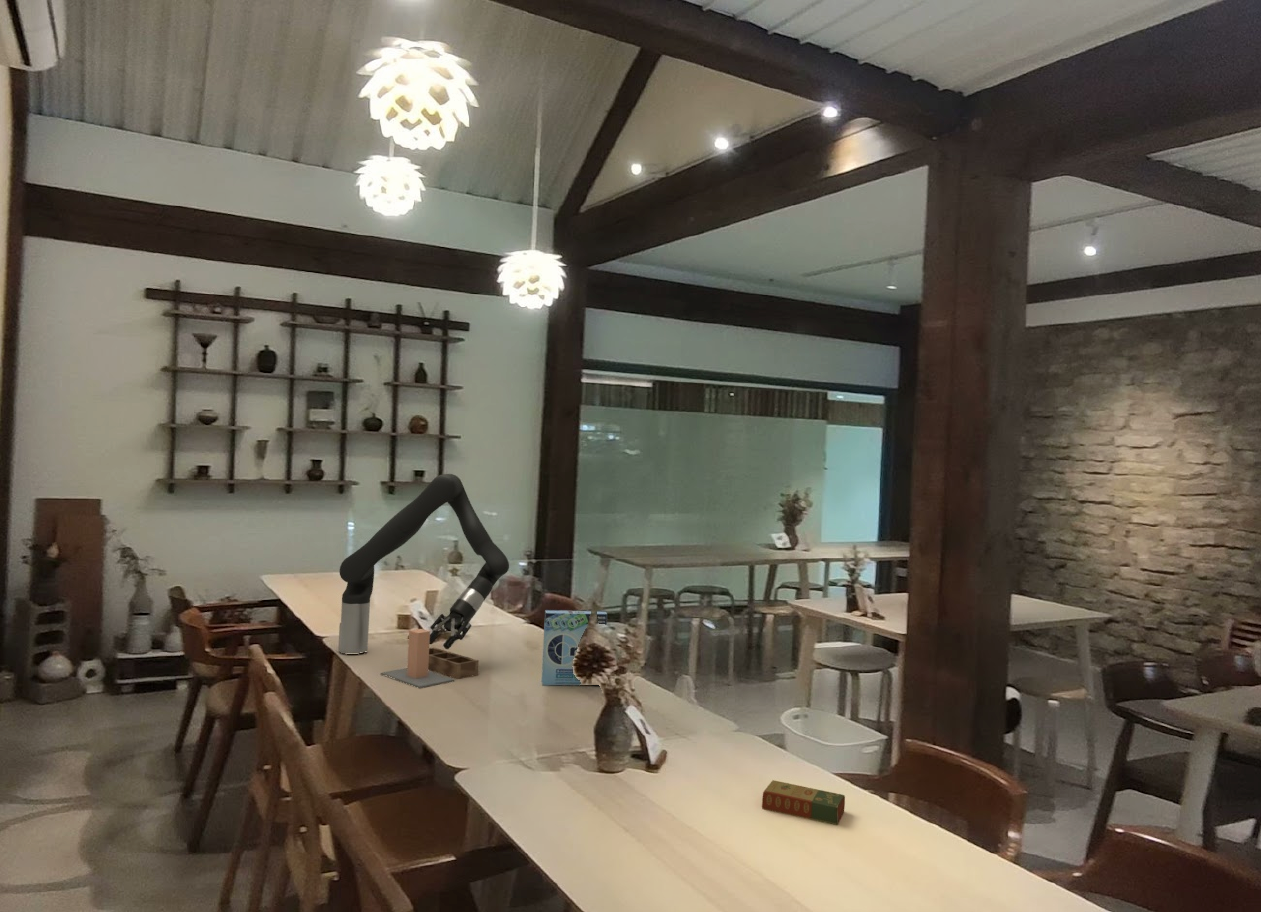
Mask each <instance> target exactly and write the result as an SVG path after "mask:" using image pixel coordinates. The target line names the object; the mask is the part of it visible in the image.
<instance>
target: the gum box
mask: <svg viewBox="0 0 1261 912" xmlns="http://www.w3.org/2000/svg"><path fill="white" fill-rule="evenodd" d="M591 611H592V610H569V609H568V610H565V609H560V610H557V609H545V610H544V623H543V649H542V667H541V668H542V670H541V685H542V686H543V685H544V686H548V685H579V686H578V687H580V684H581V682H580V680H578V679H577V678H576V677H575V675H574V674H573V667H572V665H573V659H574V657H575V655H576V652H577V649H578V644H579V642H580V639H581V637H582V635H583V633H584V631H585V629H586V628H587V625H588V622H589V616H590V614H591ZM596 611H597V619H598V623H599V624H605V625H607V623H608V613H607V611H606V610H596ZM607 626H608V625H607Z"/></svg>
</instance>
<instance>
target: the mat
mask: <svg viewBox="0 0 1261 912" xmlns="http://www.w3.org/2000/svg"><path fill="white" fill-rule="evenodd" d="M381 674H382V675H381ZM380 675H381V676H383V675H387V676H390V677H392V678H395V679H397V680H399V681H398V682H400V681H402V682H401V683H403V682H404V683H403V684H406V683H407V684H406V685H409V684H410V685H409V686H411V685H413V686H412V687H414V686H415V688H417V687H418V688H417V689H423V687H424V688H428V687H427V686H429V687H433V686H432V685H434V686H438V685H437V684H439V685H442V684H441V683H444V684H448V683H453V682H455V679H456V678H453V677H450V676H446V675H443V674H440V673H437V672H434V671H431V670H428V676H426V677H421V678H413V677H410V676H407V667H404V668H400V669H393V670H389V671H387V670H386V671H383V672H380ZM392 678H391V679H392ZM397 680H396V681H397ZM452 681H453V682H452ZM447 682H448V683H447Z"/></svg>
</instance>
